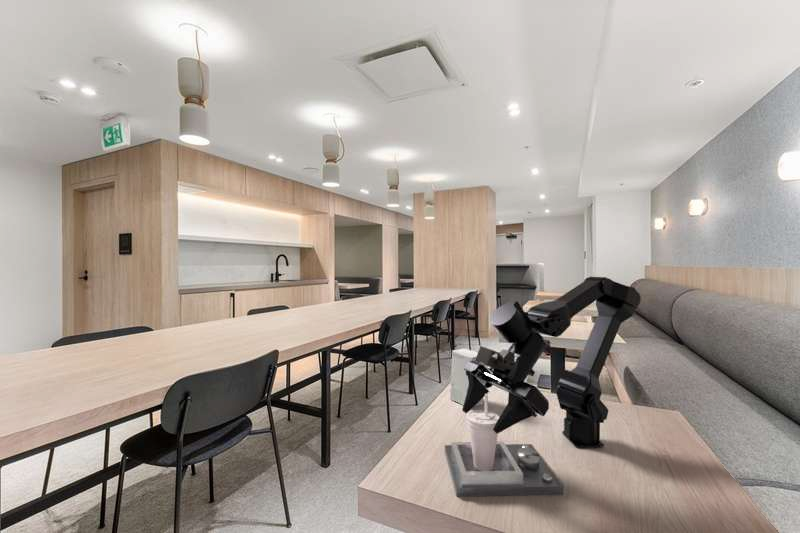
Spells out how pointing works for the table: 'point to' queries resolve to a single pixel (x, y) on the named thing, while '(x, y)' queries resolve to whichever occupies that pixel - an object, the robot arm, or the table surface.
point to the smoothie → (483, 437)
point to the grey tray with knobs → (501, 472)
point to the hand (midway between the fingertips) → (478, 421)
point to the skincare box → (461, 374)
